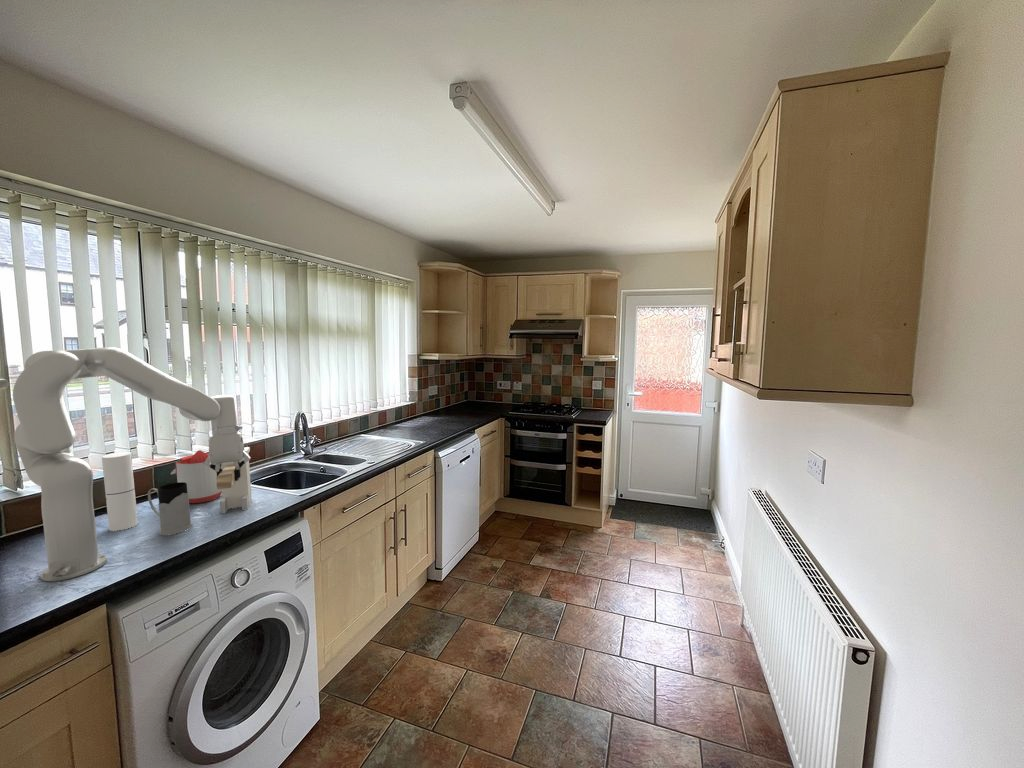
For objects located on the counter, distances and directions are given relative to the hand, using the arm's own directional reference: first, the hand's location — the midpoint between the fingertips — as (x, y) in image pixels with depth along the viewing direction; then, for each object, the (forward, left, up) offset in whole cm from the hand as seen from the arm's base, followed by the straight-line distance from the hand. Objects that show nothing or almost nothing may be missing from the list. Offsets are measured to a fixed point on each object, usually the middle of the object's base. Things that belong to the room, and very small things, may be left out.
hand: (229, 480), depth 148 cm
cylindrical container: (+6, +32, -14) cm, 35 cm away
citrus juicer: (+26, +15, -14) cm, 33 cm away
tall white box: (+10, 0, -13) cm, 17 cm away
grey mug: (-3, +17, -14) cm, 22 cm away
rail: (0, 0, 0) cm, 0 cm away
